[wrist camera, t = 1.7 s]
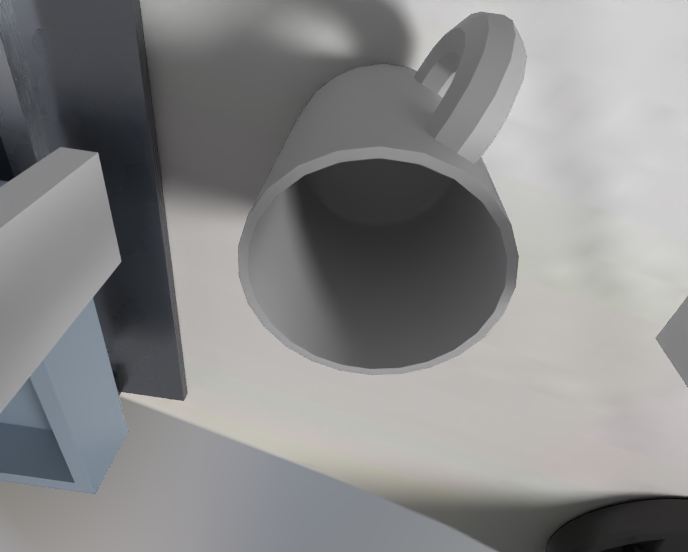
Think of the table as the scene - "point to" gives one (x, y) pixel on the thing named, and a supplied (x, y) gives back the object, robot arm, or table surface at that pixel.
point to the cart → (65, 414)
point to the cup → (391, 210)
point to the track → (115, 158)
